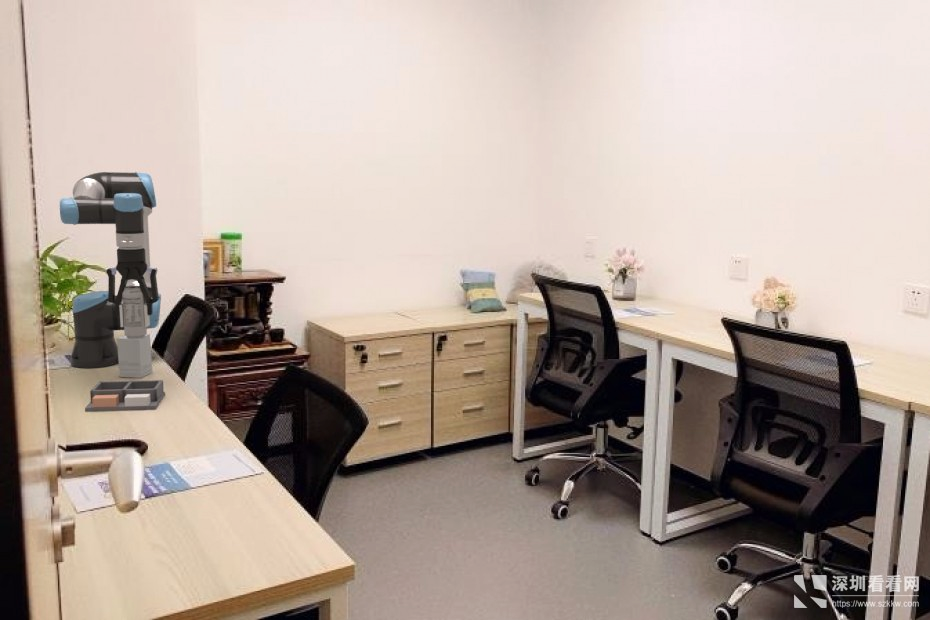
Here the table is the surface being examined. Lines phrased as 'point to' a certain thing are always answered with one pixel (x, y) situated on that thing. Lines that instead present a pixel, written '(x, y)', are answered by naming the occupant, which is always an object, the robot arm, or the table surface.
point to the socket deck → (128, 390)
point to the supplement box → (134, 356)
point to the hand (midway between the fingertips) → (135, 325)
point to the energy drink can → (134, 312)
